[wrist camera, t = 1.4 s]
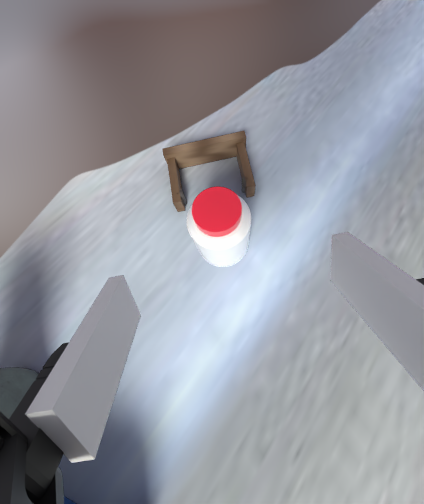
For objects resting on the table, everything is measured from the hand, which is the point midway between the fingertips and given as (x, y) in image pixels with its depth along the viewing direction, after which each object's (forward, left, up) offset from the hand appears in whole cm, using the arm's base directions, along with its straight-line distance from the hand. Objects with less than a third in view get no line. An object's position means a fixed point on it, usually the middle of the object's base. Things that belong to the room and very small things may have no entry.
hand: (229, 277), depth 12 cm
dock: (-4, -20, -22) cm, 30 cm away
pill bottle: (-2, -10, -22) cm, 24 cm away
